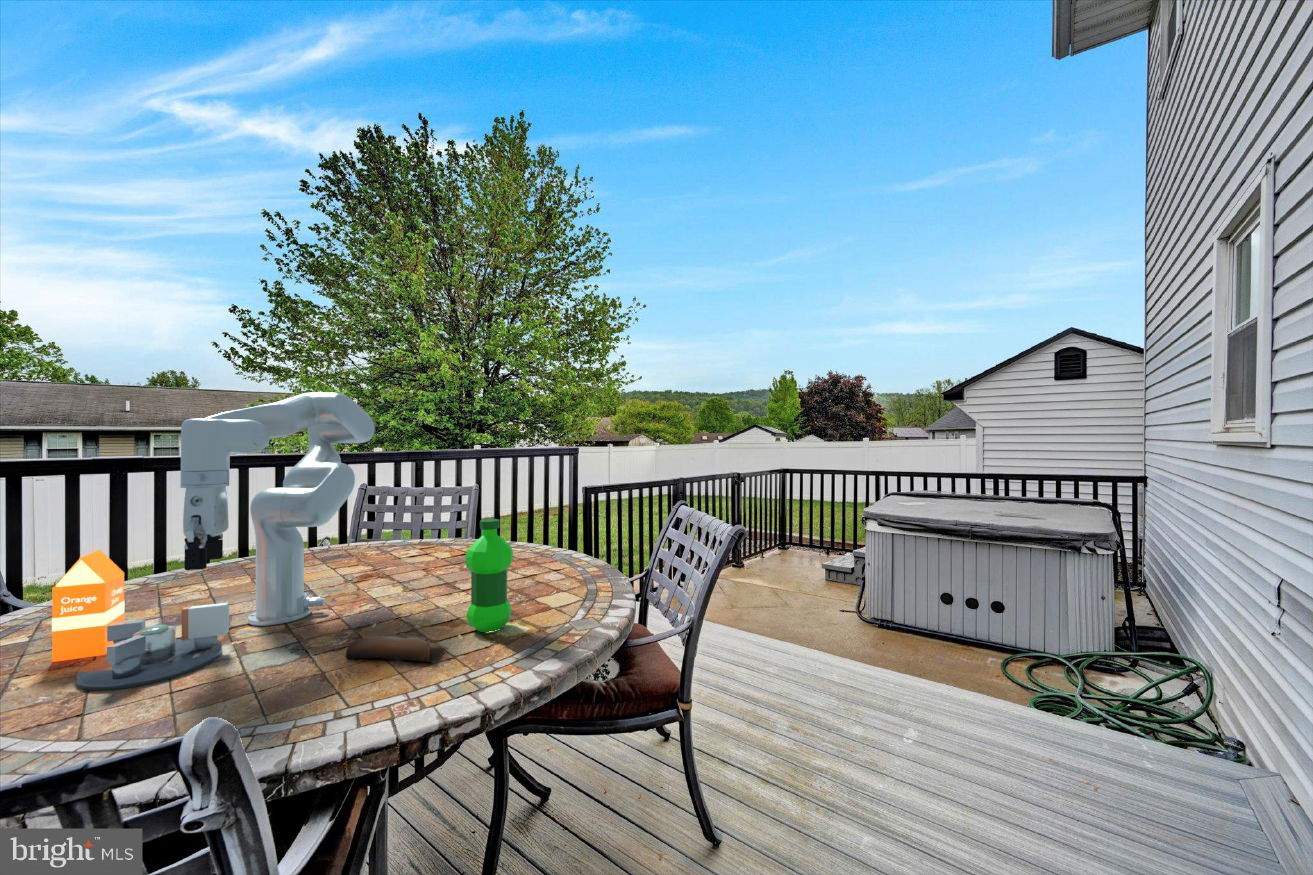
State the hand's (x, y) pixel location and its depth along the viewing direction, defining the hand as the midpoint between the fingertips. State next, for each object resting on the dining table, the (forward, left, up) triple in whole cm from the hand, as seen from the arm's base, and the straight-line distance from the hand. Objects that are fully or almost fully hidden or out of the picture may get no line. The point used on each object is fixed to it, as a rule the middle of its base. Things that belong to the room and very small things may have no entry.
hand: (204, 563), depth 105 cm
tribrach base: (+7, +2, -18) cm, 20 cm away
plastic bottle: (-54, +10, -19) cm, 58 cm away
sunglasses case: (-36, +17, -19) cm, 44 cm away
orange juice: (+22, -13, -19) cm, 31 cm away
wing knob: (0, 0, -17) cm, 17 cm away
